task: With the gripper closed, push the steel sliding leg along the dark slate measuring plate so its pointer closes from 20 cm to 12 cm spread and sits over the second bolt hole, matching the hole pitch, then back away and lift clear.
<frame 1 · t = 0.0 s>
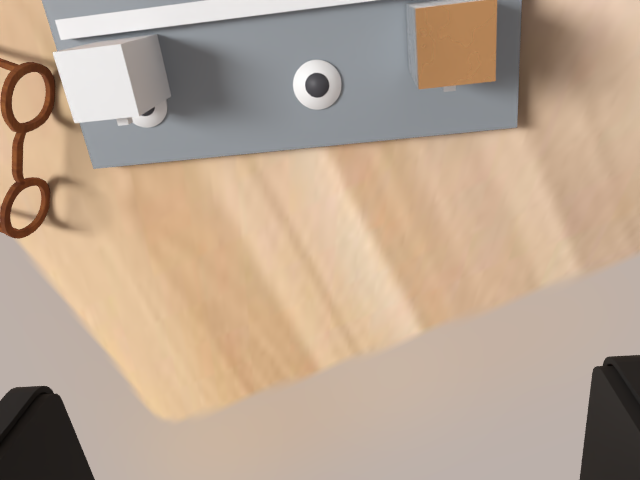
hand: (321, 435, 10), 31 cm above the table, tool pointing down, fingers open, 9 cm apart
divider plate: (286, 57, 37), on the table
sliding leg: (447, 46, 31), point 5 cm above the table, slide at 0.0 cm
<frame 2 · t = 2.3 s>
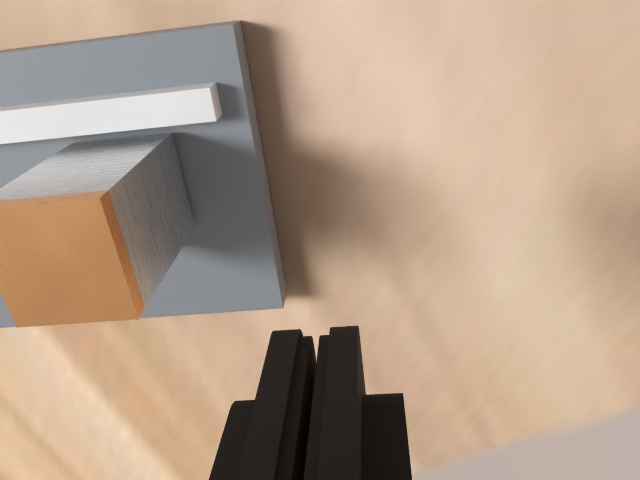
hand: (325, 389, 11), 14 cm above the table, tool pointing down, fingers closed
sliding leg: (105, 230, 19), point 5 cm above the table, slide at 0.0 cm
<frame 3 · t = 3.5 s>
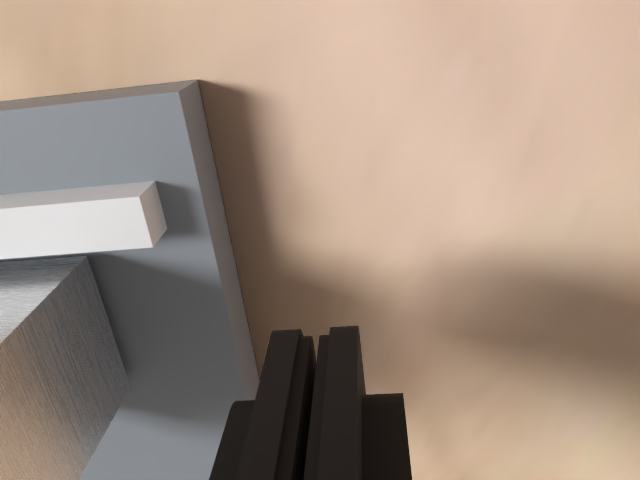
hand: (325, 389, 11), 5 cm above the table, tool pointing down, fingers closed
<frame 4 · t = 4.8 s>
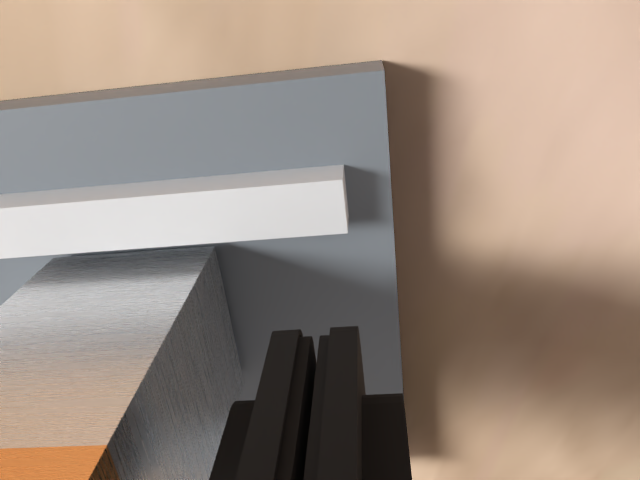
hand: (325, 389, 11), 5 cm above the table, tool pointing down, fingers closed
sliding leg: (101, 432, 11), point 5 cm above the table, slide at -1.2 cm, touching gripper
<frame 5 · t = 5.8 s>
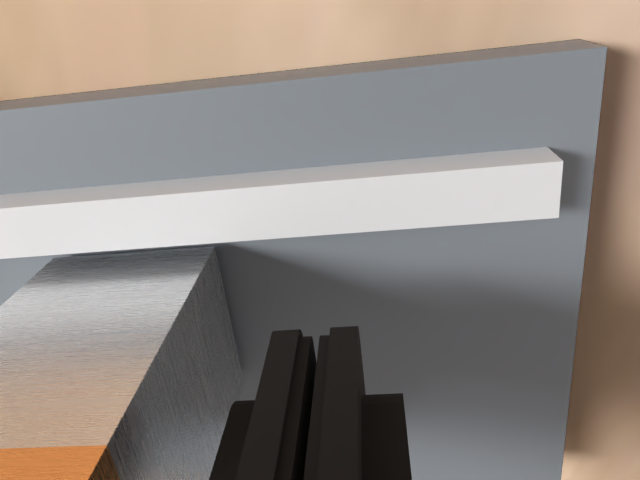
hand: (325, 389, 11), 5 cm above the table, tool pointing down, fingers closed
divider plate: (30, 310, 16), on the table
sliding leg: (101, 432, 11), point 5 cm above the table, slide at -5.5 cm, touching gripper
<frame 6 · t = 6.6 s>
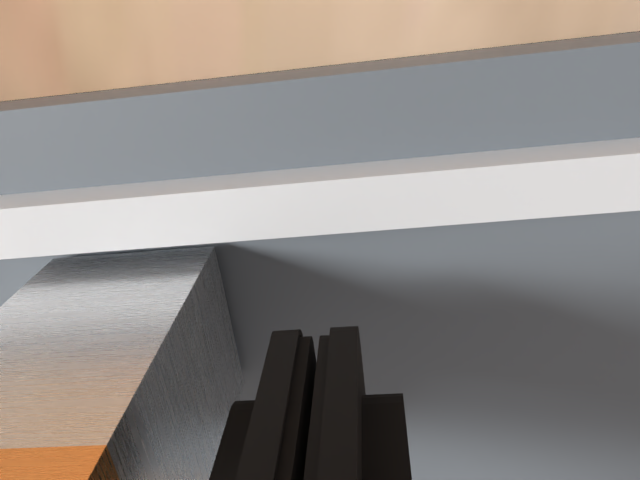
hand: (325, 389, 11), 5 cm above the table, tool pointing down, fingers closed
divider plate: (102, 306, 16), on the table
sliding leg: (101, 433, 11), point 5 cm above the table, slide at -7.7 cm, touching gripper
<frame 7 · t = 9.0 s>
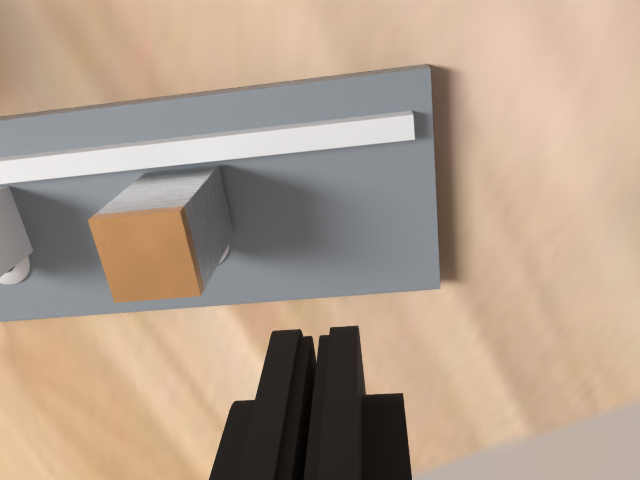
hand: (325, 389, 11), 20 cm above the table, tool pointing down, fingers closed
divider plate: (168, 204, 31), on the table
sliding leg: (172, 236, 26), point 5 cm above the table, slide at -8.0 cm
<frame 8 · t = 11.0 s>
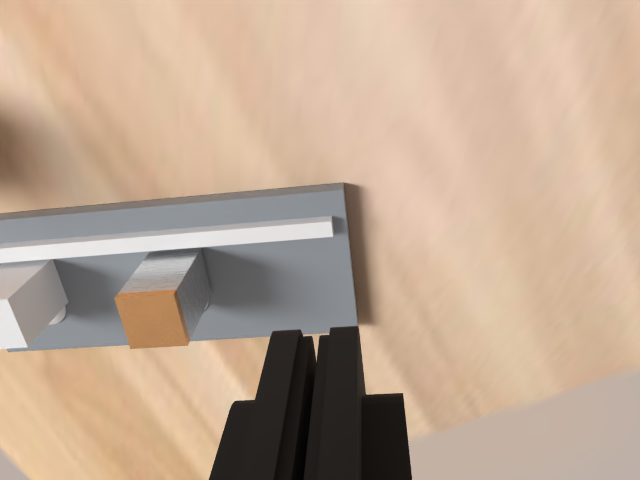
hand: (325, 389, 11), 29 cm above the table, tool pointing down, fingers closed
divider plate: (165, 269, 44), on the table
sliding leg: (168, 300, 39), point 5 cm above the table, slide at -8.0 cm
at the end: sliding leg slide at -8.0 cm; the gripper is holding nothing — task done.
